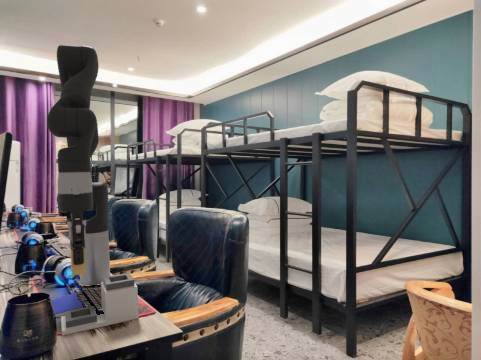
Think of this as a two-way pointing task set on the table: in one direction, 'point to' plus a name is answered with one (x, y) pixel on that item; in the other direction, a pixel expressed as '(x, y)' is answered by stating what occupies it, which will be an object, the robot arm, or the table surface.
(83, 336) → the table surface
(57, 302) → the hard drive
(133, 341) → the table surface
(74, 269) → the plug
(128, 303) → the console
